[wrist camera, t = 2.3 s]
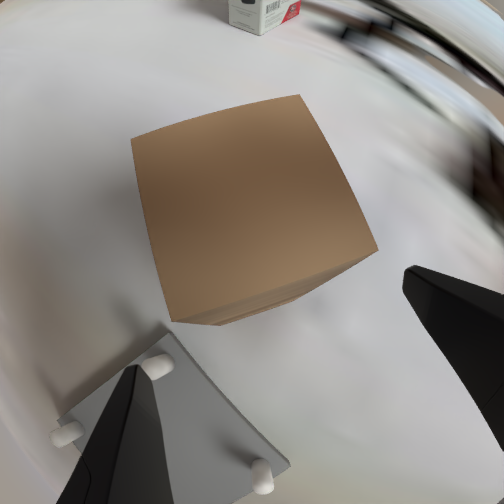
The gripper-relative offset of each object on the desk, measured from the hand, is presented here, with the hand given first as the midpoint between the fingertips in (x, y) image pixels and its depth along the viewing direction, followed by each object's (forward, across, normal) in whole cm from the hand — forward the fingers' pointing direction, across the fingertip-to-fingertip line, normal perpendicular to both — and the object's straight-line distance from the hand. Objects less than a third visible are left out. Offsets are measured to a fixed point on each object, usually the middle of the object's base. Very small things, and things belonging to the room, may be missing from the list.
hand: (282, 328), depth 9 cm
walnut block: (+10, 0, +5) cm, 11 cm away
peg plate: (+3, +9, +12) cm, 15 cm away
